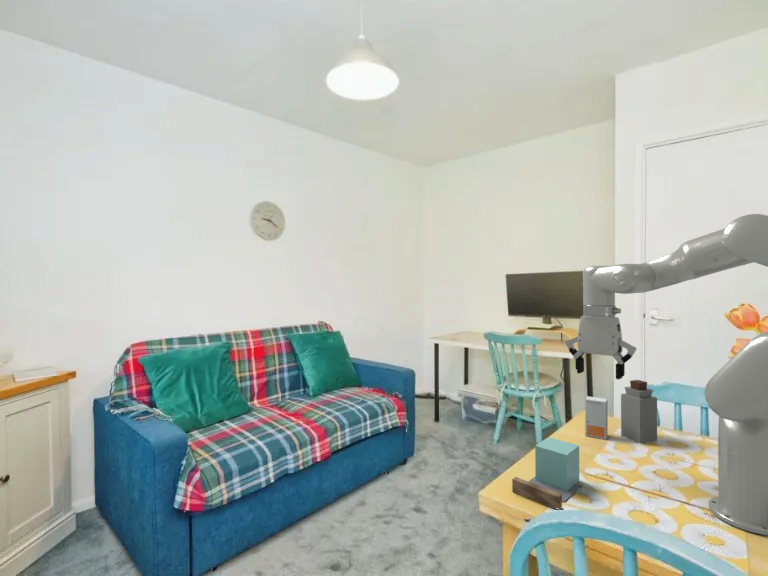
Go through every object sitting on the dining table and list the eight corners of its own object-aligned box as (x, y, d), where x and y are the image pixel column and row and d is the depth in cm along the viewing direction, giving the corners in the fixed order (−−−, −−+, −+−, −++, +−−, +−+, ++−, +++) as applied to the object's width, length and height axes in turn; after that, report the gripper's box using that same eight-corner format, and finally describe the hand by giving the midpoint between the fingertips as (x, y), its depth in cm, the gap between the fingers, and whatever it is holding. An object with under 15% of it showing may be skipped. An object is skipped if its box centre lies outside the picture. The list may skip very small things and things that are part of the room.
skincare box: (585, 436, 128) (584, 398, 128) (587, 431, 132) (586, 395, 131) (606, 440, 125) (606, 401, 124) (608, 435, 128) (607, 398, 128)
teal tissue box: (579, 480, 100) (579, 445, 100) (567, 492, 94) (566, 455, 94) (548, 470, 105) (548, 437, 105) (535, 480, 100) (535, 445, 100)
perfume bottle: (657, 441, 123) (656, 383, 123) (640, 444, 121) (639, 384, 121) (637, 433, 130) (637, 378, 129) (621, 435, 128) (620, 379, 128)
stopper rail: (562, 507, 88) (561, 494, 88) (558, 510, 87) (558, 496, 87) (515, 489, 96) (515, 476, 96) (512, 491, 95) (512, 479, 95)
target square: (581, 486, 97) (581, 485, 97) (564, 502, 90) (564, 501, 90) (541, 472, 104) (541, 471, 104) (522, 486, 97) (522, 485, 97)
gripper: (640, 312, 104) (640, 378, 104) (571, 309, 116) (571, 368, 116) (631, 314, 98) (631, 383, 99) (560, 311, 111) (560, 372, 111)
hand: (599, 375), depth 108 cm, fingers open, 9 cm apart
